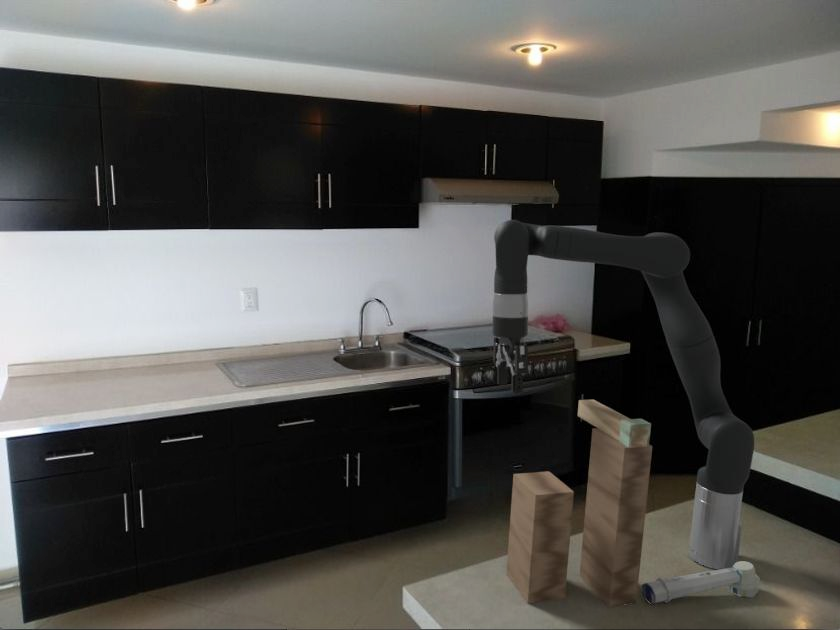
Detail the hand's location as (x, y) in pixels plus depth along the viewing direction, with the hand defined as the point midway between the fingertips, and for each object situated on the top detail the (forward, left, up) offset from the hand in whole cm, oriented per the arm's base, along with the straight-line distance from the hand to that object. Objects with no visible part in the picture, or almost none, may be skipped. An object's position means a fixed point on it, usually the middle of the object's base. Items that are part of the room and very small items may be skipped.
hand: (509, 388), depth 136 cm
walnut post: (-15, +21, -37) cm, 44 cm away
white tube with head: (-33, +27, -37) cm, 56 cm away
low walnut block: (-1, +17, -37) cm, 40 cm away
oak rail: (-15, +17, -5) cm, 23 cm away
